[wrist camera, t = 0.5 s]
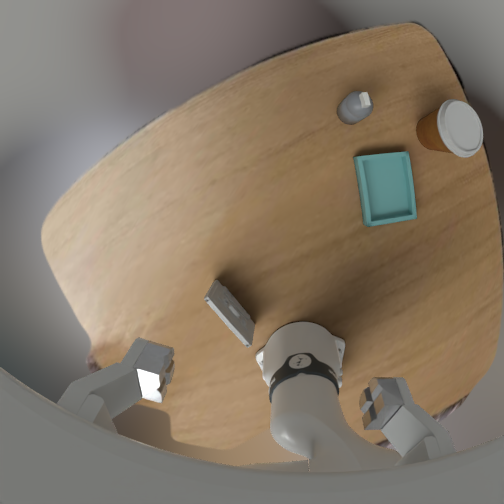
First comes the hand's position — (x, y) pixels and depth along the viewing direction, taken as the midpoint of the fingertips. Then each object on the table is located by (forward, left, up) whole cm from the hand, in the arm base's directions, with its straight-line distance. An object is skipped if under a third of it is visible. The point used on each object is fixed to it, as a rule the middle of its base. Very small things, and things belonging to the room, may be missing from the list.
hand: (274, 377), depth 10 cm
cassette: (-15, +11, -40) cm, 44 cm away
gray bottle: (+16, -16, -39) cm, 45 cm away
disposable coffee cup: (+11, -32, -40) cm, 52 cm away
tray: (+2, -20, -39) cm, 44 cm away
